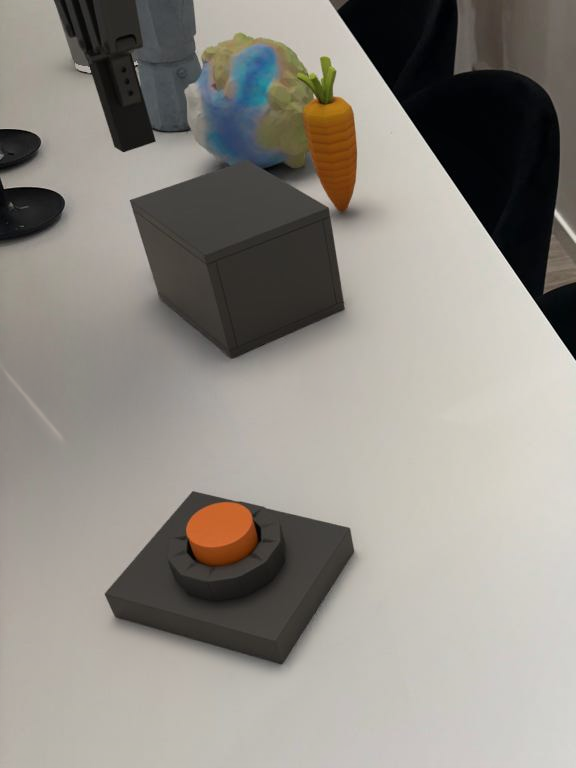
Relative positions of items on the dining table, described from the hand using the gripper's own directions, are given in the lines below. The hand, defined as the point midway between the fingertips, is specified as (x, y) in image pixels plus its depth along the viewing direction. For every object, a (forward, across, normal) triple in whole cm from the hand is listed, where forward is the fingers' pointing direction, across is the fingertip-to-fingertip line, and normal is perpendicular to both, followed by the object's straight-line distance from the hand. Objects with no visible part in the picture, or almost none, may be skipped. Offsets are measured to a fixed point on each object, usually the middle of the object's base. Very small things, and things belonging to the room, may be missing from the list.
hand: (135, 144), depth 73 cm
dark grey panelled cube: (+17, +1, -6) cm, 18 cm away
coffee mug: (+16, +72, -27) cm, 79 cm away
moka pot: (+17, +47, -24) cm, 55 cm away
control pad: (+17, -29, +13) cm, 36 cm away
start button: (+13, -29, +13) cm, 34 cm away
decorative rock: (+17, +27, -25) cm, 41 cm away
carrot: (+17, +10, -23) cm, 30 cm away
